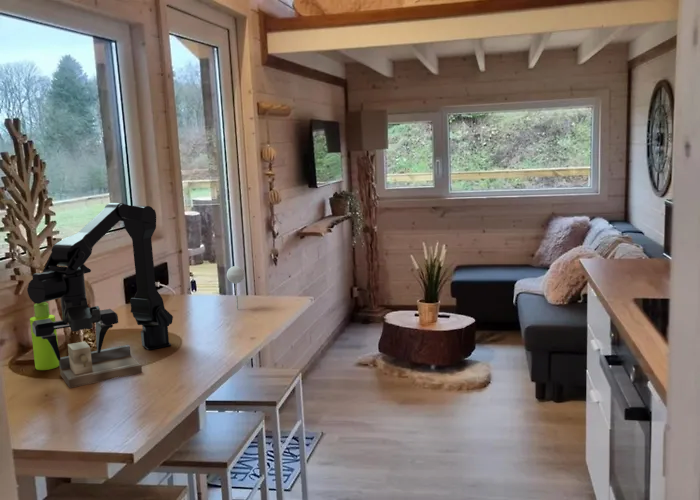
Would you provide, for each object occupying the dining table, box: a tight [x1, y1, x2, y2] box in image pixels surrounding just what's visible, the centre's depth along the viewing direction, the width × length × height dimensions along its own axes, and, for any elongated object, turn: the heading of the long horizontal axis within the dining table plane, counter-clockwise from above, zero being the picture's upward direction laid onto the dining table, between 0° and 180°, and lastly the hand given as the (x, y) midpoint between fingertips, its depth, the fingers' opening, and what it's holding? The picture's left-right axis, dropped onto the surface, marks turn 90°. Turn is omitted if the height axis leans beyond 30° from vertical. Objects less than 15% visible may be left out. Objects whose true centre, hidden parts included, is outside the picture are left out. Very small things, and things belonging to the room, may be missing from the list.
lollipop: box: [226, 265, 245, 311], centre depth 225 cm, size 6×6×15 cm
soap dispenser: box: [29, 302, 60, 371], centre depth 171 cm, size 6×7×20 cm
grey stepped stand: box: [59, 344, 143, 389], centre depth 166 cm, size 17×11×5 cm, turn 124°
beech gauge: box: [67, 341, 93, 374], centre depth 162 cm, size 4×9×6 cm, turn 33°
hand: (79, 356), depth 163 cm, fingers open, 9 cm apart
